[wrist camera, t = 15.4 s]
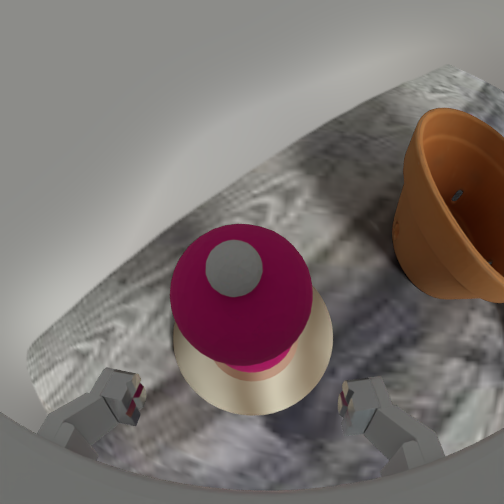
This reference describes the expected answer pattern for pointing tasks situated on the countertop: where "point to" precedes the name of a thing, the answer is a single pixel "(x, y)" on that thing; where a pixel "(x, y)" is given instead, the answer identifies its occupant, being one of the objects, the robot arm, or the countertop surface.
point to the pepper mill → (242, 296)
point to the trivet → (265, 382)
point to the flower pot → (453, 208)
